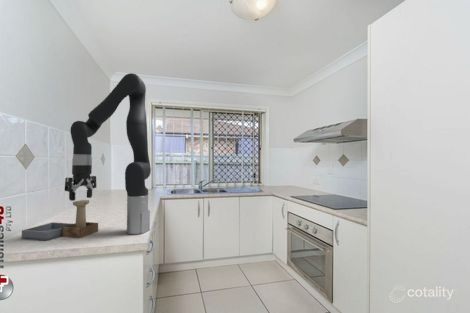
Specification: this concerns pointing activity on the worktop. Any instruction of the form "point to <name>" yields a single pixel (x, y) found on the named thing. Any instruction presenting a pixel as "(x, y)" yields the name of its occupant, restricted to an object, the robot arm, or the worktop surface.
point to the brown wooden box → (79, 230)
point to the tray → (44, 231)
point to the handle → (81, 213)
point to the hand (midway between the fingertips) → (81, 199)
